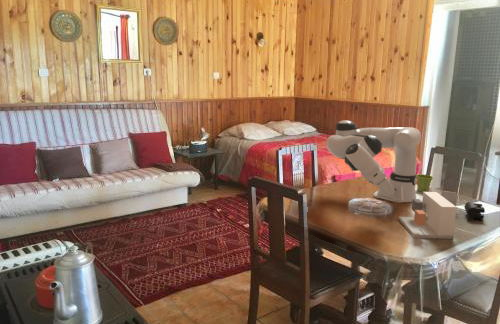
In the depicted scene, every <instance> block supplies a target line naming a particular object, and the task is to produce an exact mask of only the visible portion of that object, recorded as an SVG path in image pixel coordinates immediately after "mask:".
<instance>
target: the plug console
mask: <svg viewBox="0 0 500 324" xmlns="http://www.w3.org/2000/svg"><path fill="white" fill-rule="evenodd" d="M441 195H442V194H440V193H438V192H436V191H426V192H423V191H422V200H421V201H422V202H423V204H424V205H425V208H424V209H422V210H423V211H424V212H425V213H426V215H428V221H425V225H417V224H416V223H415V222H414V216H399V217H398V221H399V222H400V223H401V224H402V225H403V227H404V228H405V229H406V230H407V231H408V232H409V234H410V235H411V236H412V237H413V239H436V240H437V239H440V240H453V239H454V233H455V226H456V225H455V224H456V217H457V210H458V207H457V205H456V206H454V205H453V204H452V203H450V202H449V201H448V200H446V199H445V198H444V197H442V196H441Z"/></svg>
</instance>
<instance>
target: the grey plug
mask: <svg viewBox="0 0 500 324" xmlns="http://www.w3.org/2000/svg"><path fill="white" fill-rule="evenodd" d="M424 208H425V205H424V204H423V202H422V200H420V199H419V198H416V199H413V200H412V203H411V210H412V211H413V212H414V213H415V210H422V209H424Z"/></svg>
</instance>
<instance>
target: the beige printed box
mask: <svg viewBox="0 0 500 324" xmlns="http://www.w3.org/2000/svg"><path fill="white" fill-rule="evenodd" d="M440 195H441V196H442V197H444V198H445V199H446V200H448V201H449V202H450V203H452V204H453V205H454V206H456V207H457V198H458V192H453V191H447V190H441V194H440Z"/></svg>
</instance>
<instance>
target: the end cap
mask: <svg viewBox="0 0 500 324" xmlns="http://www.w3.org/2000/svg"><path fill="white" fill-rule="evenodd" d="M464 210H465V212H466V215H467V217H468V218H469V220H471V221H476V222H484V217H485V215H483V214H485V211H486V210H485V207H484V206H483V204H482V203H476V202H474V201H471V200H470V201H468V202H466V203H465V204H464Z"/></svg>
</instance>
